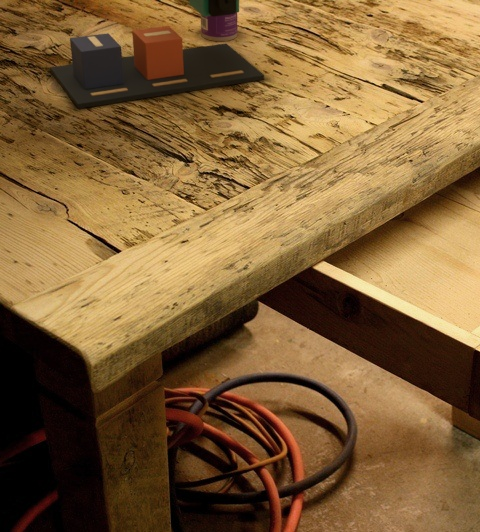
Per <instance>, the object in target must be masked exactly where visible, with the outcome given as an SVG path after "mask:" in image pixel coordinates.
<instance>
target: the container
mask: <svg viewBox="0 0 480 532" xmlns="http://www.w3.org/2000/svg"><path fill="white" fill-rule="evenodd" d="M200 35H201V37H202V38H204V39H206V40H208V41H213V42H228V41H233V40H234V39H236V38H237V37H238V12H237V13H235V14H231V15H223V16H215V17H213V16H205V17H204V16H202V15H201V14H200Z"/></svg>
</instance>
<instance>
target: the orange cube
mask: <svg viewBox="0 0 480 532" xmlns="http://www.w3.org/2000/svg"><path fill="white" fill-rule="evenodd" d="M131 36H132V48H133V49H132V50H133V56H134V64H135V67H136V68H137V69H138V70H139V72H140V73H141V74H142V75H143V76H144V77H145V78H146V79H147V80H151V79H158V78H165V77H172V76H178V75H184V69H183V49H184V46H183V43H184V42H183V38H182V37H181V35H179V34H178V33H177V32H176V31H175V30H174V29H173V28H172V27H170V26H169V25H163V26H156V27H150V28H149V27H148V28H141V29H132V30H131Z"/></svg>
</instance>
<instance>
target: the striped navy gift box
mask: <svg viewBox="0 0 480 532" xmlns="http://www.w3.org/2000/svg"><path fill="white" fill-rule="evenodd" d="M69 44H70V53H71V60H72V61H71V64H73V73H74V76H75V77H76V79H77V80H78V81H79V82H80V84H81V85H82V86H83V87H84V89H93V88H99V87H106V86H113V85H119V84H124V78H123V65H122V57H123V53H122V46H121V45H120V44H119V43H118V41H117V40H115V39H114V38H113V36H112V35H111V34H110V33H109V32H108V33H99V34H91V35H83V36H75V37H70V38H69Z"/></svg>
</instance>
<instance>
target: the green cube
mask: <svg viewBox="0 0 480 532" xmlns="http://www.w3.org/2000/svg"><path fill="white" fill-rule="evenodd" d="M236 3H237V11H236V13H237V14H238V13H240V0H236ZM188 5H189V6H190V7H191V8H192V9H194V10H195V11H196V12H198V13H199V15H200V16H201V15H202V16H204V17H205V16H211V15H210V14H209V4H208V0H188Z"/></svg>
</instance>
